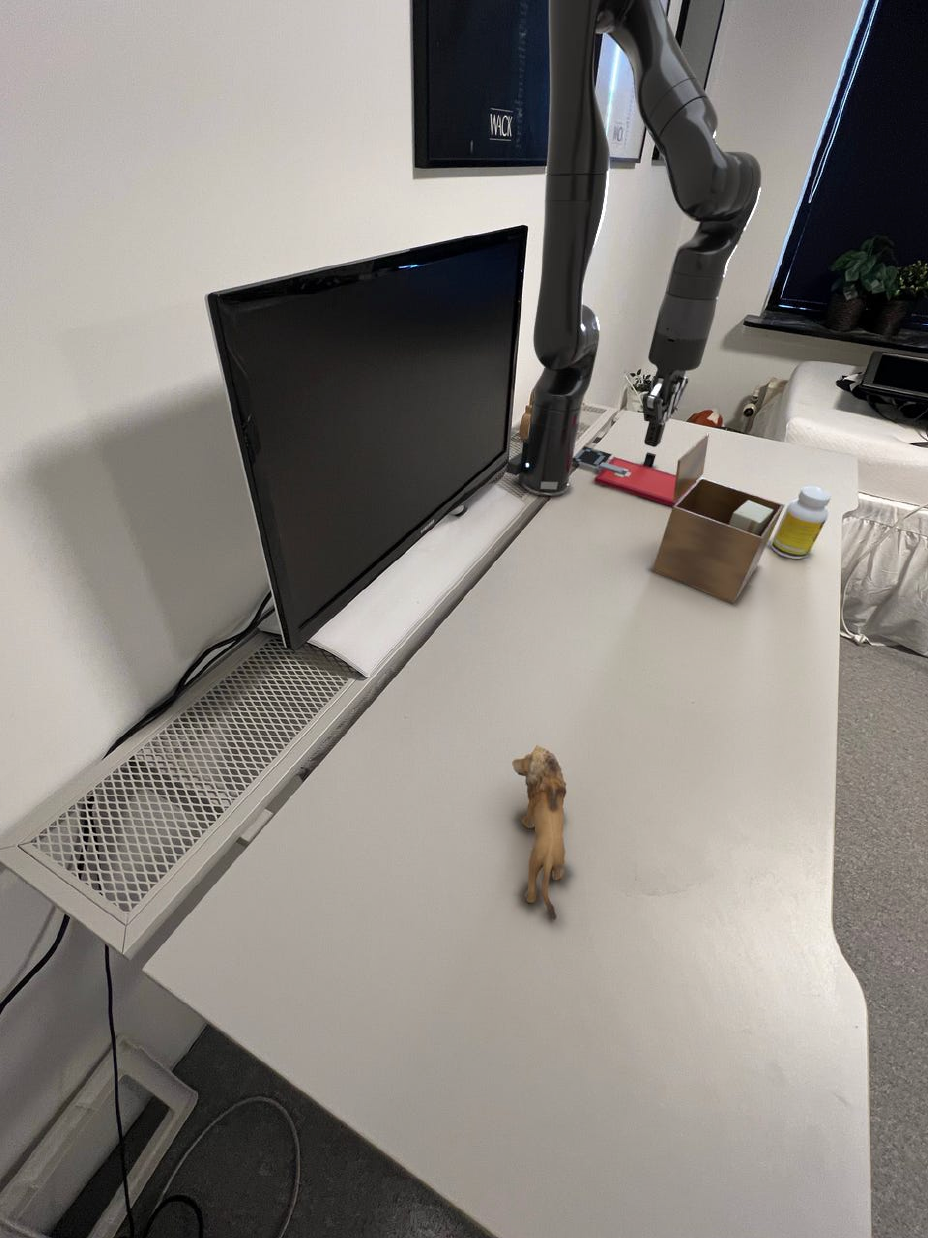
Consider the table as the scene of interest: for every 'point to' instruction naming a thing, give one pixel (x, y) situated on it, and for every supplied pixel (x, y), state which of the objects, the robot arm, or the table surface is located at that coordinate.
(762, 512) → the cosmetic box
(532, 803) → the lion figurine
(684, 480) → the flap
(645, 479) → the red board with handle
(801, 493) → the pill bottle
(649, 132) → the robot arm
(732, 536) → the carton
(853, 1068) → the table surface
